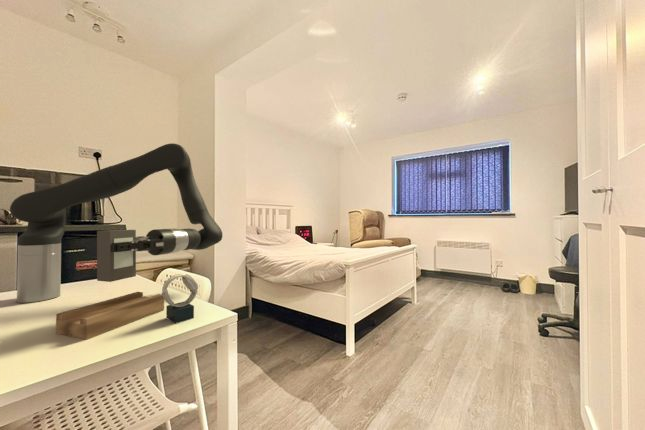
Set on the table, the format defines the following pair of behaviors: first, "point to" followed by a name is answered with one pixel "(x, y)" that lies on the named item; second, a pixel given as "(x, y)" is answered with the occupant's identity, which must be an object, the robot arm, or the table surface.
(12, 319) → the table surface
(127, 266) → the tall taupe pillar block
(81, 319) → the wooden channel tray
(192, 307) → the watch
